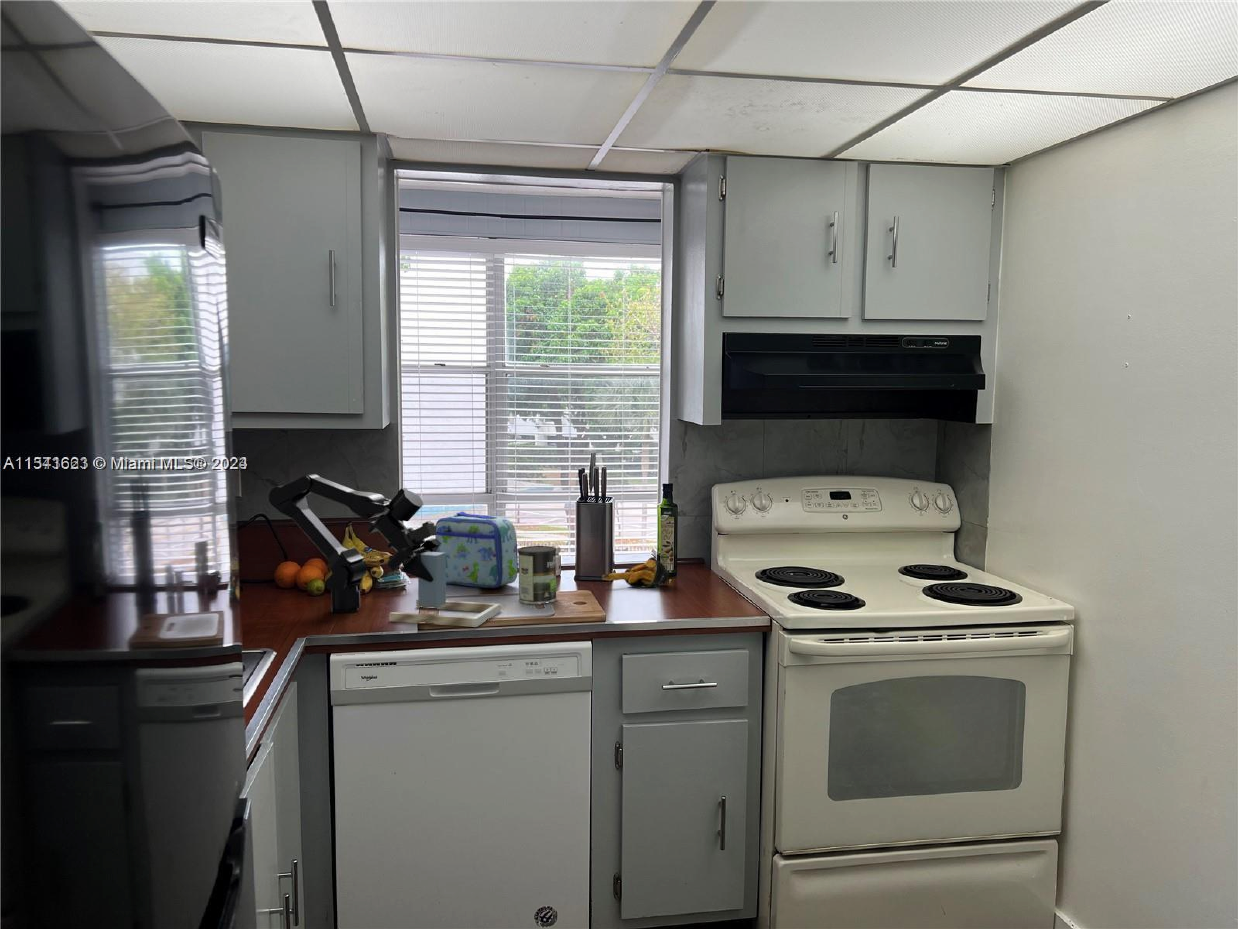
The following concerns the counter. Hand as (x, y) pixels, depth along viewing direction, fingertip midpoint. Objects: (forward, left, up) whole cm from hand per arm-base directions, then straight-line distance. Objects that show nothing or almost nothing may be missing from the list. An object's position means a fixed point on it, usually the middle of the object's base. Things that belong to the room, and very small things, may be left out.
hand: (437, 578), depth 219 cm
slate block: (-1, +1, -7) cm, 7 cm away
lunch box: (+12, +34, -10) cm, 38 cm away
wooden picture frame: (+2, -1, -9) cm, 10 cm away
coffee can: (+27, +10, -10) cm, 30 cm away
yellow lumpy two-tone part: (+57, +19, -10) cm, 61 cm away
